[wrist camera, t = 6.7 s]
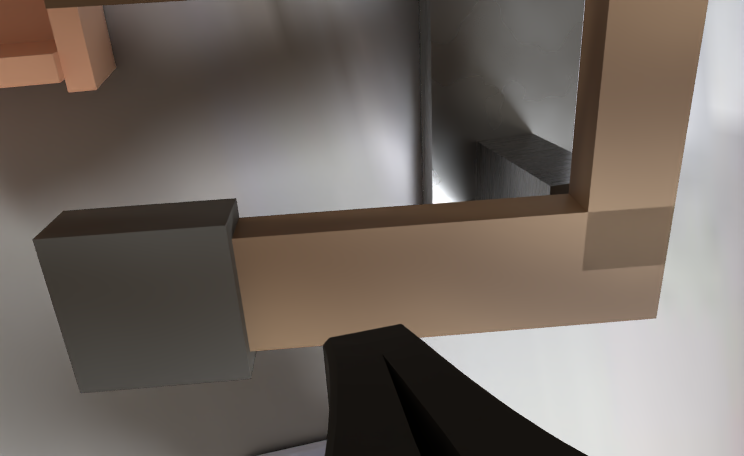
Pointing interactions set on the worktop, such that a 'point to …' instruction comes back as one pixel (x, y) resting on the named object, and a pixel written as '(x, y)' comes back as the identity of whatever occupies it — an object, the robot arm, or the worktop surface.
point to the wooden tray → (394, 239)
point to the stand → (498, 97)
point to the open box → (54, 45)
